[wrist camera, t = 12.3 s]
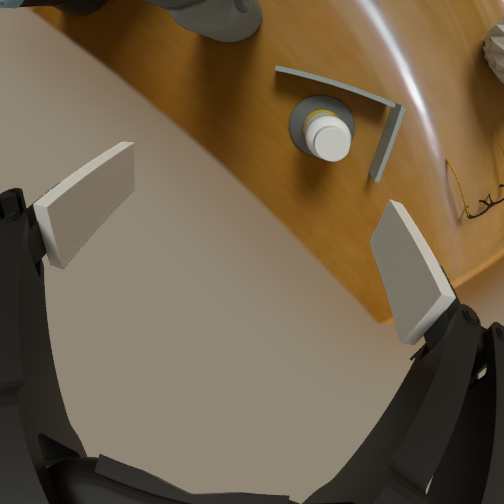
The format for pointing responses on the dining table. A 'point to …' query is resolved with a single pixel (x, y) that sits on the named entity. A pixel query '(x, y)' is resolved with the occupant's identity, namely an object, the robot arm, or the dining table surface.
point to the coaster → (311, 105)
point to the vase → (495, 49)
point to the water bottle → (215, 17)
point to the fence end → (387, 141)
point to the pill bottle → (326, 135)
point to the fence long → (335, 84)
